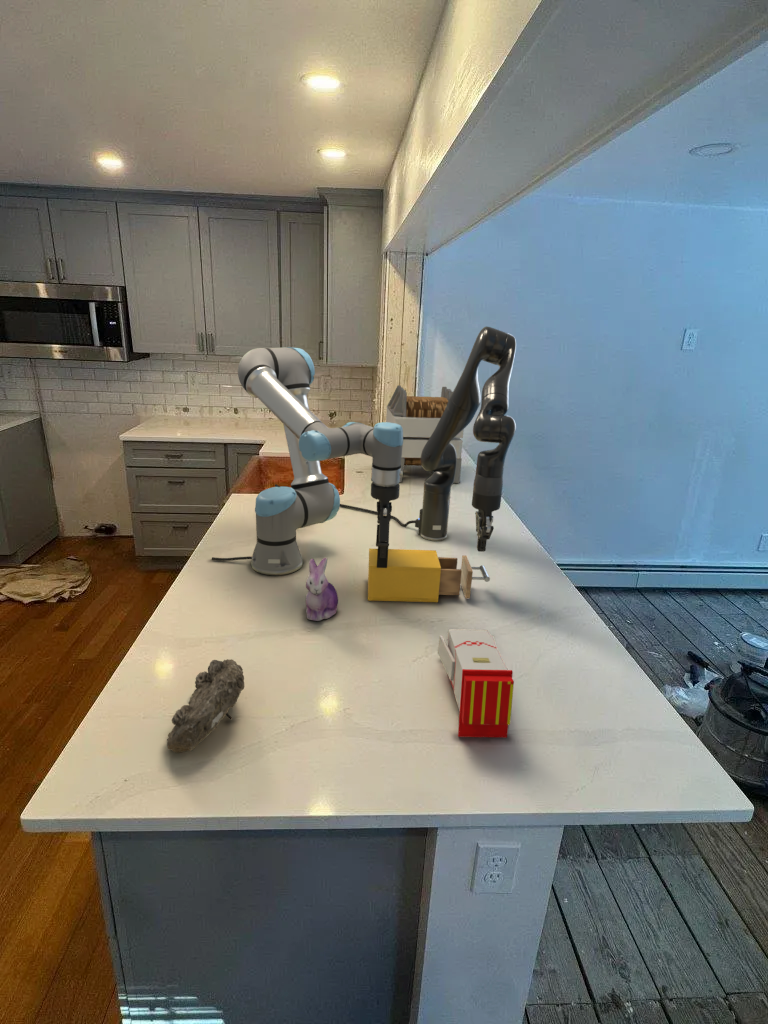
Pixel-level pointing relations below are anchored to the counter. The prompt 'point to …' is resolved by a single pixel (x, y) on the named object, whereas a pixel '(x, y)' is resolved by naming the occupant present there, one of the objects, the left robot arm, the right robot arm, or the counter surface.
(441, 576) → the drawer
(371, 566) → the cabinet
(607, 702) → the counter surface
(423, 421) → the grey crate
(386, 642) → the counter surface
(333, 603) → the figurine
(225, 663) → the fossil
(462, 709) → the toy
